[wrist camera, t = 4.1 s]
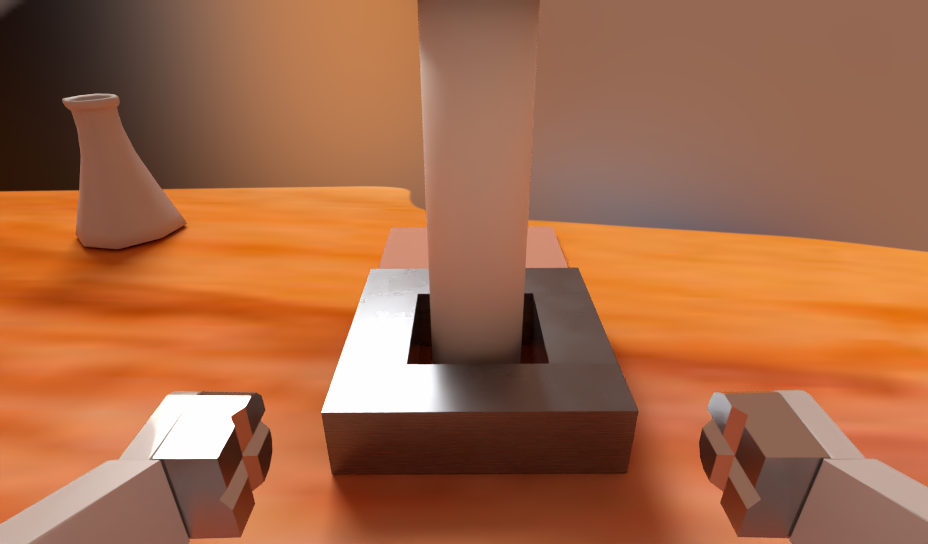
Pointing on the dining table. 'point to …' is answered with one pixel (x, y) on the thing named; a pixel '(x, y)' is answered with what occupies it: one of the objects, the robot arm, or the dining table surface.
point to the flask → (115, 181)
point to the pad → (412, 249)
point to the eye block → (478, 389)
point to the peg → (477, 172)
